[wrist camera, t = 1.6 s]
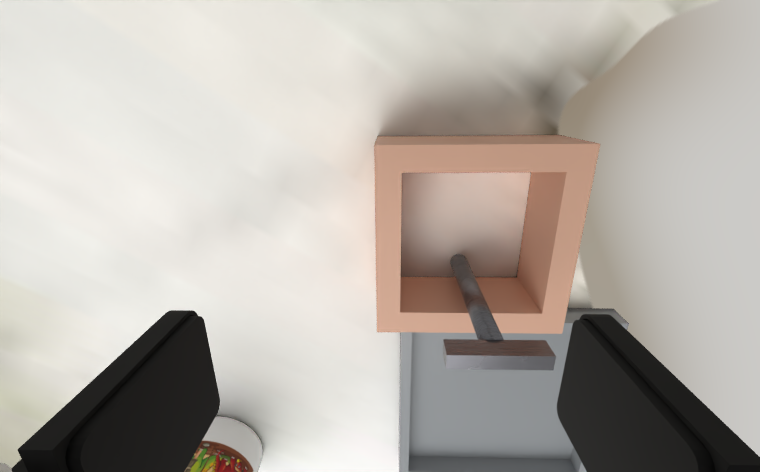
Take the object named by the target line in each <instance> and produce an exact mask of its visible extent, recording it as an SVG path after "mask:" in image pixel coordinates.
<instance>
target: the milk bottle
mask: <svg viewBox="0 0 760 472" xmlns="http://www.w3.org/2000/svg"><path fill="white" fill-rule="evenodd" d="M262 456H263V451H262V445H261V441H260V439H259V437H258V436H257V434H256V433H255V432H254V431H253V430H252V429H251V428H250V427H249V426H247V425H245V424H244V423H242V422H240V421H238V420H235V419H232V418H228V417H221V416H216V417H215V419H214V420H213V422H212V424H211V426H210V427H209V429H208V431H207V433H206V434H205V436H204V438H203V440H202V442H201V443H200V445H199V447H198V449H197V450H196V452H195V454H194V456H193V457H192V459H191V461H190V463H189V465H188V466H187V468H186V470H185V472H258V470H259V467H260V463H261V460H262Z"/></svg>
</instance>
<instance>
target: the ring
mask: <svg viewBox="0 0 760 472" xmlns="http://www.w3.org/2000/svg"><path fill="white" fill-rule="evenodd" d="M599 148H600V144H598V143H594V142H589V141H585V140H580V139H576V138H571V137H566V136H562V135H487V136H377V139H376V142H375V145H374V156H375V225H376V294H377V332H426V333H475V330H474V327H473V324H472V321H471V319H470V316H469V313H468V310H467V308H466V305H465V302H464V299H463V296H462V294H461V291H460V288H459V285H458V283H457V280H456V277H401V198H402V173H480V172H531V178H530V185H529V192H528V200H527V207H526V214H525V221H524V228H523V236H522V243H521V250H520V257H519V264H518V272H517V277H475V279H476V281H477V283H478V285H479V287H480V290H481V292H482V294H483V296H484V298H485V300H486V302H487V305H488V307H489V309H490V311H491V313H492V315H493V317H494V320H495V322H496V324H497V326H498V328H499V330H500V332H501V333H531V334H562V332H563V327H564V322H565V317H566V312H567V307H568V302H569V297H570V293H571V288H572V283H573V278H574V273H575V268H576V263H577V258H578V253H579V248H580V242H581V238H582V233H583V228H584V223H585V218H586V213H587V208H588V203H589V198H590V193H591V188H592V183H593V177H594V172H595V168H596V163H597V158H598V152H599Z"/></svg>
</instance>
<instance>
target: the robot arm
mask: <svg viewBox="0 0 760 472" xmlns="http://www.w3.org/2000/svg"><path fill="white" fill-rule="evenodd" d="M219 405H220V398H219V393H218V388H217V383H216V378H215V373H214V368H213V363H212V358H211V353H210V348H209V343H208V338H207V333H206V328H205V323H204V320H203V318H202V317H200V316H198V315H197V313H196V312H195V311H168V312H167V313H166V314H165V315H163V316H162V317H161V318H160V319H159V320H158V321H157V322H156V323H155V324H154V325H153V326H151V327H150V328H149V329H148V330H147V331H146V332H145V333H144V334H143V335H142V336H141V337H140V338H138V339H137V340H136V341H135V342H134V343H133V344H132V345H131V346H130V347H129V348H128V349H126V350H125V351H124V352H123V353H122V354H121V355H120V356H119V357H118V358H117V359H116V360H115V361H113V362H112V363H111V364H110V365H109V366H108V367H107V368H106V369H105V370H104V371H103V372H101V373H100V374H99V375H98V376H97V377H96V378H95V379H94V380H93V381H92V382H91V383H90V384H88V385H87V386H86V387H85V388H84V389H83V390H82V391H81V392H80V393H79V394H78V395H76V396H75V397H74V398H73V399H72V400H71V401H70V402H69V403H68V404H67V405H66V406H65V407H63V408H62V409H61V410H60V411H59V412H58V413H57V414H56V415H55V416H54V417H53V418H51V419H50V420H49V421H48V422H47V423H46V424H45V425H44V426H43V427H42V428H41V429H40V430H38V431H37V432H36V433H35V434H34V435H33V436H32V437H31V438H30V439H29V440H28V441H26V442H25V443H24V444H23V445H22V446H21V447H20V448H19V449H18V452H19V454H20V456H21V458H22V459H21V460H20V461H19V462H18V463H17V464H16V465H15V466H14V467H13V468H11V467H9V466H8V465H7V464H5V463H0V472H185V470H186V468H187V466H188V465H189V463H190V461H191V459H192V457H193V456H194V454H195V452H196V450H197V449H198V447H199V445H200V443H201V442H202V440H203V438H204V436H205V434H206V433H207V431H208V429H209V427H210V426H211V424H212V422H213V420H214V419H215V417H216V415H217V413H218V410H219ZM557 414H558V418H559V420H560V422H561V424H562V426H563V428H564V430H565V432H566V433H567V435H568V437H569V439H570V441H571V443H572V445H573V447H574V448H575V450H576V452H577V454H578V456H579V458H580V460H581V462H582V463H583V465H584V467H585V469H586V471H587V472H760V457H759V456H758V455H757V454H756V453H755V452H754V451H753V450H752V449H751V448H749V447H748V446H747V445H746V444H745V443H744V442H743V441H742V440H741V439H740V438H739V437H738V436H737V435H736V434H735V433H734V432H733V431H732V430H731V429H730V428H729V427H728V426H726V425H725V424H724V423H723V422H722V421H721V420H720V419H719V418H718V417H717V416H716V415H715V414H714V413H713V412H712V411H711V410H710V409H709V408H707V406H706V405H705V404H703V403H702V402H701V401H700V400H699V399H698V398H697V397H696V396H695V395H694V394H693V393H692V392H691V391H690V390H689V389H688V388H687V387H685V385H684V384H682V383H681V382H680V381H679V380H678V379H677V378H676V377H675V376H674V375H673V374H672V373H671V372H670V371H669V370H668V369H667V368H666V367H664V365H663V364H662V363H661V362H659V361H658V360H657V359H656V358H655V357H654V356H653V355H652V354H651V353H650V352H649V351H648V350H647V349H646V348H645V347H644V346H643V345H642V344H641V343H640V342H639V341H637V340H636V339H635V338H634V337H633V336H632V335H631V334H630V333H629V332H628V331H627V330H626V329H625V328H624V327H623V326H622V325H621V324H620V323H619V322H618V321H617V320H616V319H615V318H613V317H612V316H611V315H609V314H583V315H582V316H581V317H580V319H579V320H575V321H574V323H573V325H572V330H571V335H570V340H569V345H568V350H567V356H566V361H565V366H564V371H563V376H562V381H561V386H560V391H559V396H558V401H557Z"/></svg>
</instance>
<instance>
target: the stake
mask: <svg viewBox="0 0 760 472" xmlns="http://www.w3.org/2000/svg"><path fill="white" fill-rule="evenodd" d="M451 266H452V269H453V271H454V274H455V277H456V280H457V283H458V285H459V288H460V291H461V294H462V296H463V299H464V302H465V305H466V308H467V310H468V313H469V316H470V319H471V321H472V324H473V327H474V330H475V333H476V335H477V338H478V340H475V339H443V352H442V353H443V358H444V363H445V368H446V369H476V370H554V365H555V360H556V355H555V354H554V352H553V351H552V349H551V348H550V346H549V345H548V343H547V341H546V340H504V339H503V337H502V335H501V332H500V330H499V328H498V326H497V324H496V322H495V320H494V317H493V315H492V313H491V311H490V309H489V307H488V305H487V302H486V300H485V298H484V296H483V294H482V292H481V290H480V287H479V285H478V283H477V281H476V279H475V277H474V275H473V272H472V270H471V268H470V266H469V264H468V262H467V260H466V258H465V256H463V255H460V254H458V255H455V256H453V257H452V259H451Z"/></svg>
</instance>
